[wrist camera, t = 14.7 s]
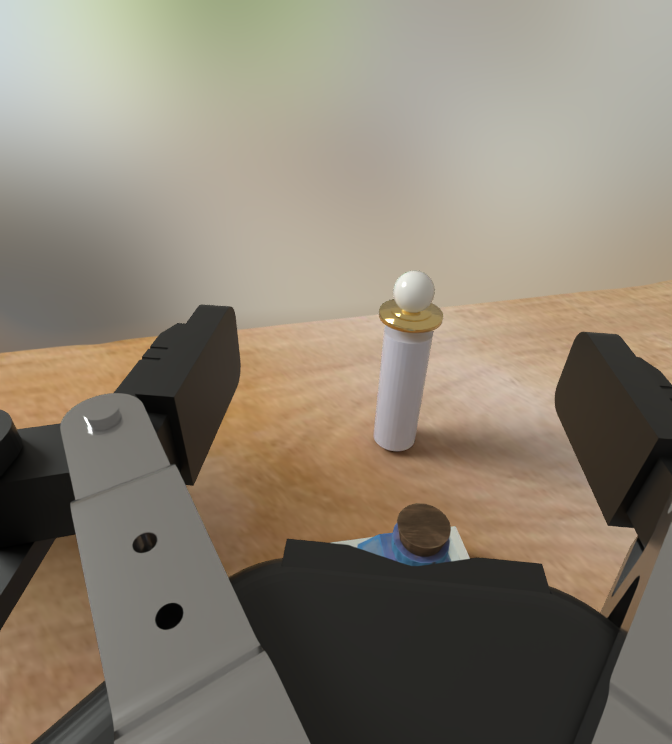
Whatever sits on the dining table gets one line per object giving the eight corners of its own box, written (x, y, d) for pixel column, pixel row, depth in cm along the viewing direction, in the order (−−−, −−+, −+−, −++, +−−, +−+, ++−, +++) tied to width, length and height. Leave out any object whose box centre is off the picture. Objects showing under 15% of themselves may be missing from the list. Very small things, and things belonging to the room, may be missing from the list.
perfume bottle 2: (429, 582, 38) (455, 480, 31) (456, 665, 33) (495, 566, 26) (353, 592, 37) (362, 489, 30) (369, 679, 32) (384, 579, 25)
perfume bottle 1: (420, 463, 49) (452, 289, 38) (365, 457, 50) (381, 283, 38) (419, 427, 54) (448, 262, 43) (369, 421, 55) (384, 257, 43)
